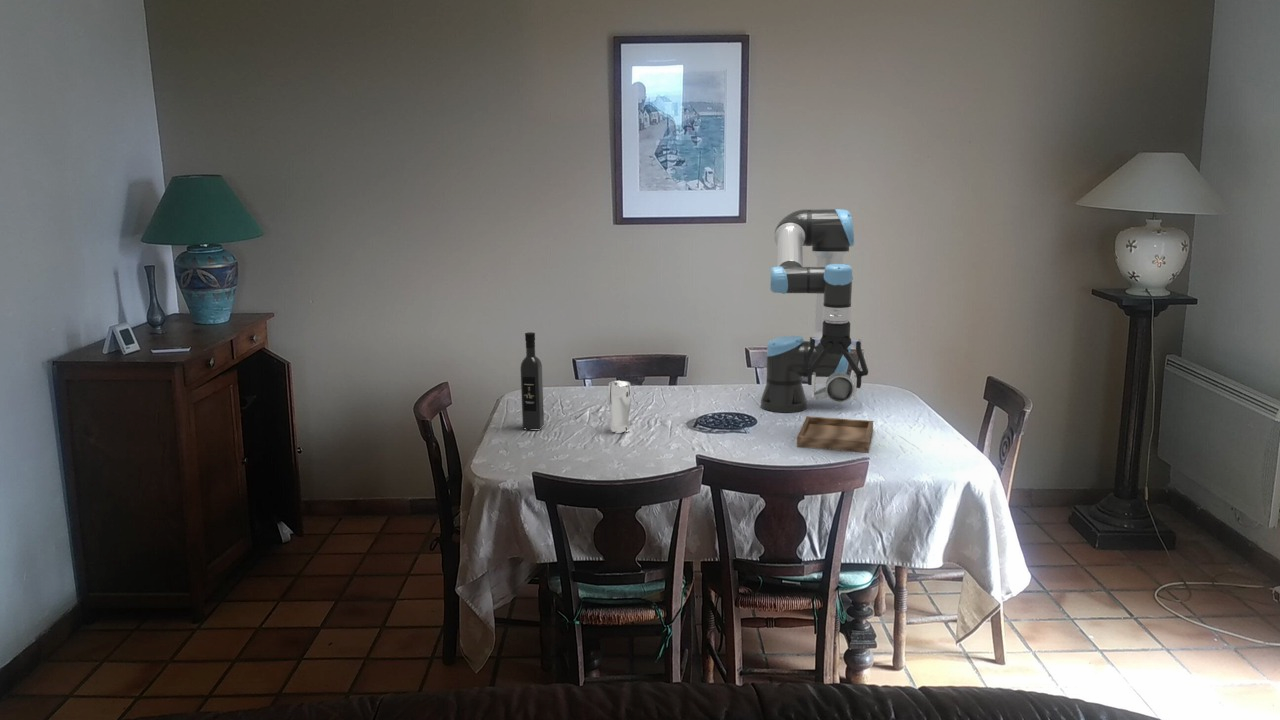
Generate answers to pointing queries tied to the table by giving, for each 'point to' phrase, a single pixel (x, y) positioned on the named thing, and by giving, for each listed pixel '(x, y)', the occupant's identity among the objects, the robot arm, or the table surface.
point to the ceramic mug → (837, 388)
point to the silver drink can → (619, 405)
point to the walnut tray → (835, 434)
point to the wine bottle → (531, 386)
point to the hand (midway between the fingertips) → (833, 397)
